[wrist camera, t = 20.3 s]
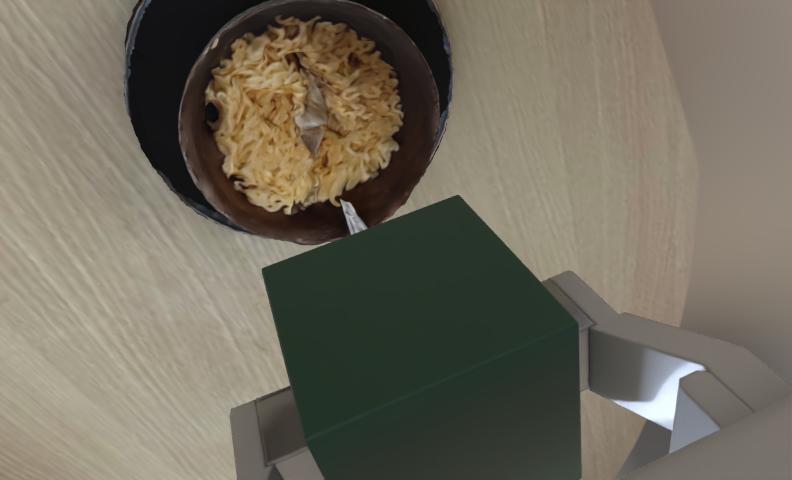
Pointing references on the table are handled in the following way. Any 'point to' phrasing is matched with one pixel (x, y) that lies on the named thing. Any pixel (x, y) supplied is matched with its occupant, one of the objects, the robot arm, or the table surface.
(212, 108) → the soup bowl
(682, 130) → the table surface
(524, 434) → the block
